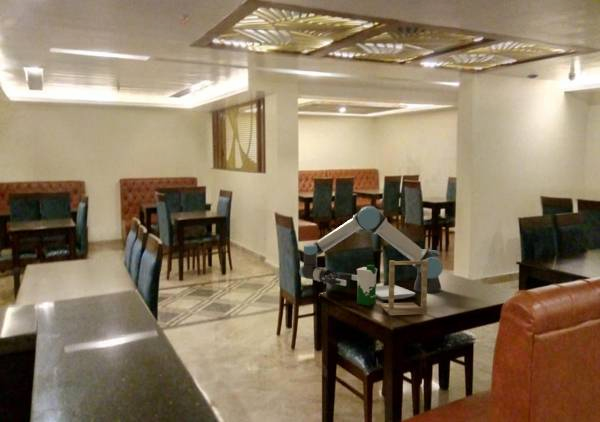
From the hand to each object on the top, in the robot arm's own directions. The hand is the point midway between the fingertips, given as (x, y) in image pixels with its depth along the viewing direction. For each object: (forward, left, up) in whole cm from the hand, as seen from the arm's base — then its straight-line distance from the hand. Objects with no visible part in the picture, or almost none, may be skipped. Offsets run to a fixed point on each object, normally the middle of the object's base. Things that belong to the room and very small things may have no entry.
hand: (354, 281), depth 250 cm
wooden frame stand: (-20, +18, -10) cm, 29 cm away
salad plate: (-21, -8, -11) cm, 25 cm away
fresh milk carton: (-5, +6, -11) cm, 13 cm away
